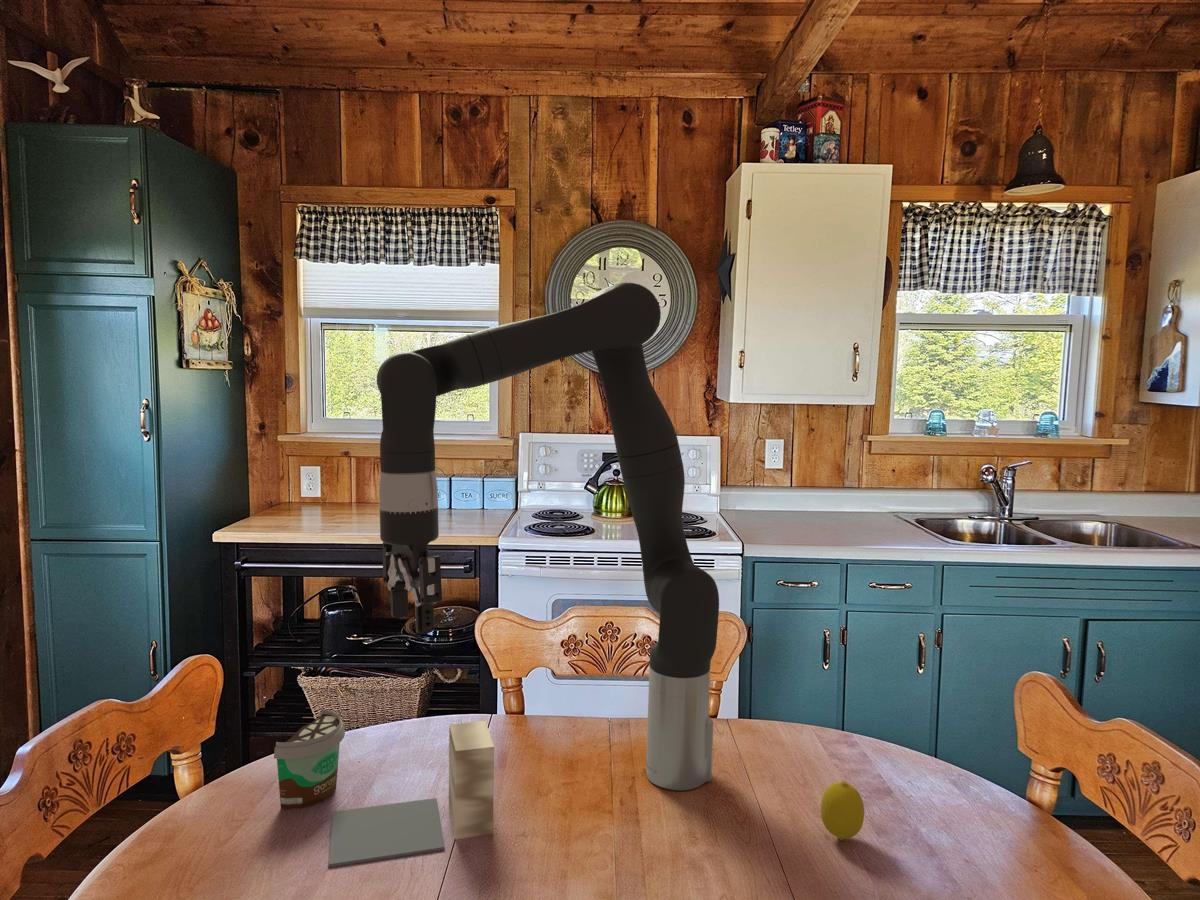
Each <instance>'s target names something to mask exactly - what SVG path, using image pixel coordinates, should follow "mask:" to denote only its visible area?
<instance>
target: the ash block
mask: <svg viewBox="0 0 1200 900" xmlns="http://www.w3.org/2000/svg"><path fill="white" fill-rule="evenodd" d="M448 725H449V726H448V727H449V728H448V729H449V731H448V733H449V735H448V737H449V738H448V739H449V740H448V742H449V743H448V811H449V816H450V821H451V825H452V826H451V828H452V831H453V837H454V840H460V839H467V838H475V837H480V836H487V835H493V834H494V797H495V796H494V795H495V794H494V793H495V792H494V791H495V790H494V787H495V786H494V785H495V782H494V781H495V778H494V777H495V745H494V742H493V740H492V739H493V738H492V736H491V734H490V730H489V728H488V726H487V722H486V720H482V721H481V720H479V721H470V722H463V723H461V722H460V723H452V724H448Z"/></svg>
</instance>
